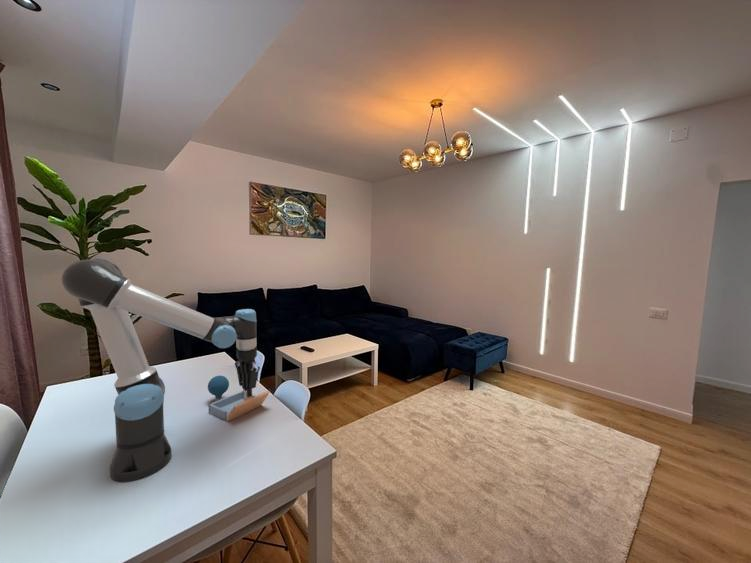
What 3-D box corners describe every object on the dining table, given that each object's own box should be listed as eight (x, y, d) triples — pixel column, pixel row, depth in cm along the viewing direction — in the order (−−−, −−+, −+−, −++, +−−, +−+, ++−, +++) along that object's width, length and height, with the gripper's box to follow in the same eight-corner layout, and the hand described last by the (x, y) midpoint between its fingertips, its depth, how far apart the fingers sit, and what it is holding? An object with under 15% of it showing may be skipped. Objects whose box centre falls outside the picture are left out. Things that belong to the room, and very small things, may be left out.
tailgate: (226, 423, 118) (236, 408, 114) (225, 420, 118) (234, 405, 115) (260, 406, 131) (270, 392, 128) (259, 404, 132) (268, 390, 128)
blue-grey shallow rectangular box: (224, 421, 118) (224, 412, 118) (208, 413, 124) (208, 404, 124) (259, 405, 132) (259, 396, 132) (243, 398, 138) (243, 390, 137)
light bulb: (223, 407, 130) (222, 380, 129) (204, 406, 130) (203, 379, 129) (232, 398, 138) (232, 372, 137) (214, 397, 138) (214, 372, 137)
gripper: (265, 348, 121) (265, 403, 124) (244, 342, 128) (245, 395, 130) (249, 353, 115) (250, 412, 117) (228, 347, 121) (229, 403, 124)
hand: (247, 403), depth 124 cm, fingers closed
